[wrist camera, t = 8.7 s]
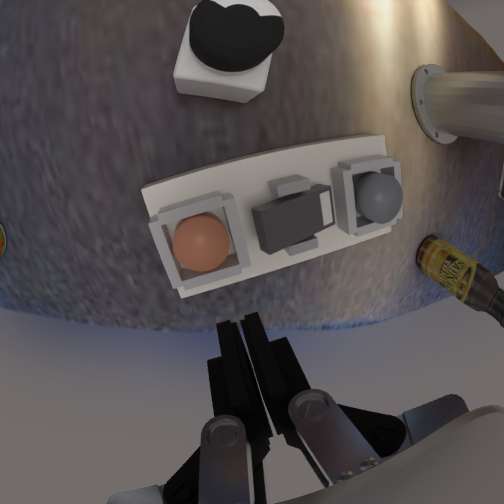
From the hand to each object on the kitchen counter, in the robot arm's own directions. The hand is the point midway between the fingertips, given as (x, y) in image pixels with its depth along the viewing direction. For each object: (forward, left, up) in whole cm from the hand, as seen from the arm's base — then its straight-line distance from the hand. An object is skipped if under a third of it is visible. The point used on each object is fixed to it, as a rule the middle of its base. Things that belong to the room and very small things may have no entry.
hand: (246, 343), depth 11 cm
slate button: (-17, +1, -15) cm, 22 cm away
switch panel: (-8, +1, -20) cm, 21 cm away
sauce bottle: (-32, +15, -20) cm, 40 cm away
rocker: (-8, +1, -14) cm, 16 cm away
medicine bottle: (-5, -15, -20) cm, 25 cm away
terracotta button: (+1, +1, -16) cm, 17 cm away
